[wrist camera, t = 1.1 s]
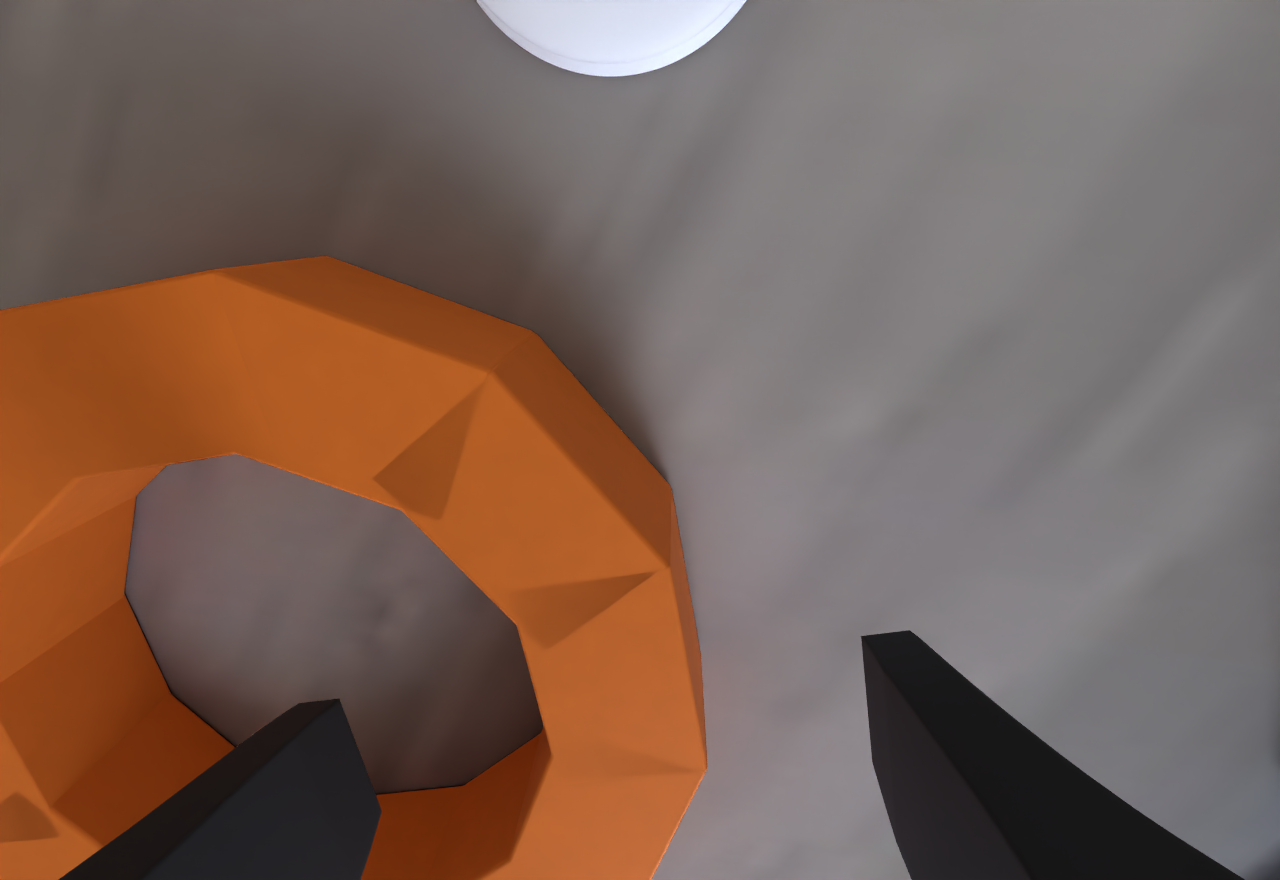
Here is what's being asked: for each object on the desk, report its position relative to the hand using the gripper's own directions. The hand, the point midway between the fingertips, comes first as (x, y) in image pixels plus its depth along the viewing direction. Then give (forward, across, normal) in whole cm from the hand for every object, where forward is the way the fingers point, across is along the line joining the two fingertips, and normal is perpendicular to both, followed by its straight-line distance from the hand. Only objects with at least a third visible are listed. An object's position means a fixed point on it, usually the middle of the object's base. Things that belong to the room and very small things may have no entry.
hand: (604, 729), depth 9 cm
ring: (+4, +6, 0) cm, 7 cm away
